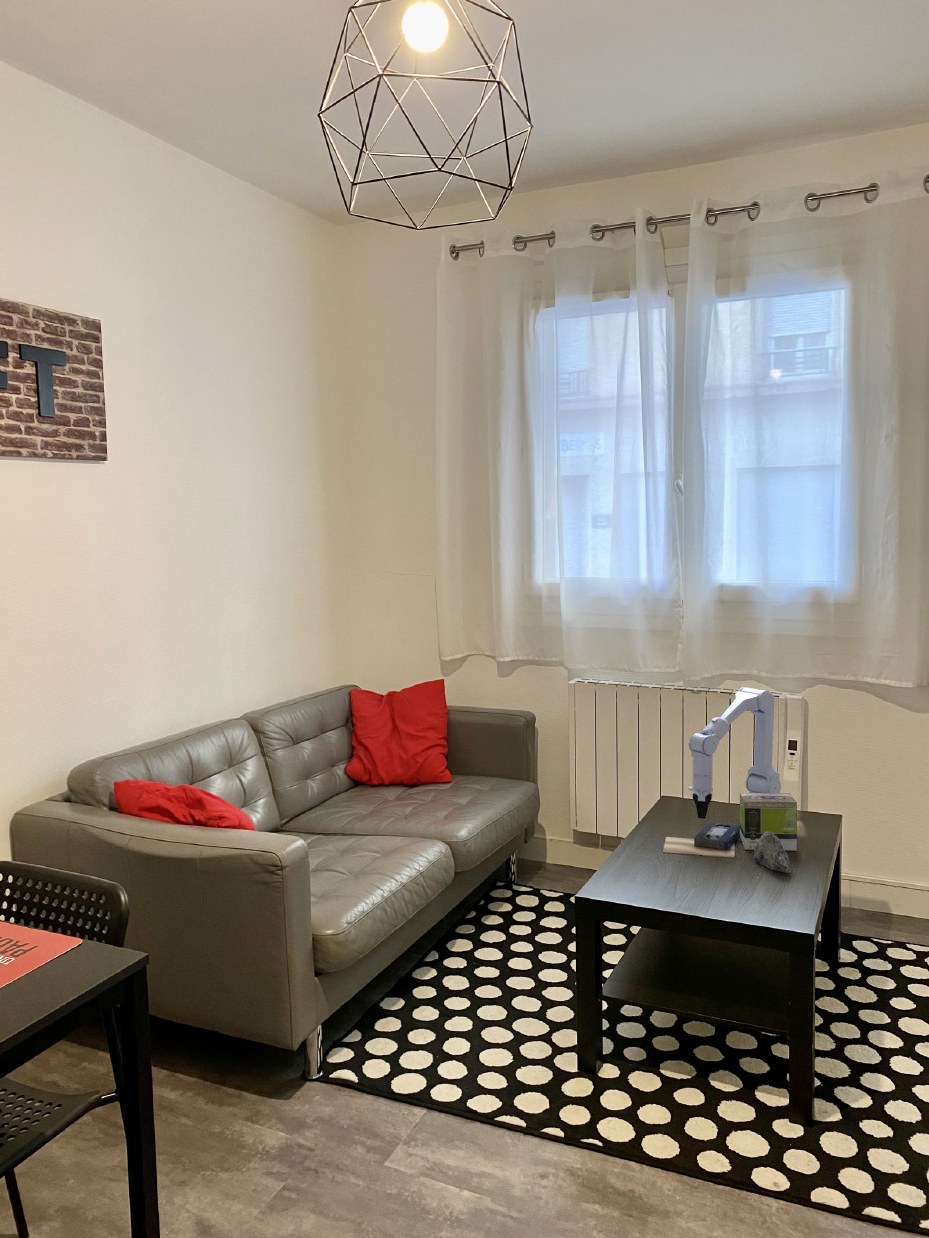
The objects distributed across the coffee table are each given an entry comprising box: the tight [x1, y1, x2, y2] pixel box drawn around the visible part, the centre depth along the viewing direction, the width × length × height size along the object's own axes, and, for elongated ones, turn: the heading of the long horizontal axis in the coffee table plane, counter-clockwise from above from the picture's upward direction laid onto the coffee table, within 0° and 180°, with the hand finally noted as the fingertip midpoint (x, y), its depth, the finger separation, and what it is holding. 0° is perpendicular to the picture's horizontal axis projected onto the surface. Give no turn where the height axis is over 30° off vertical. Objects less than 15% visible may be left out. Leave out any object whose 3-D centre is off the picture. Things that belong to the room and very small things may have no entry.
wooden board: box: [662, 836, 736, 859], centre depth 287 cm, size 14×20×1 cm
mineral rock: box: [753, 831, 792, 874], centre depth 269 cm, size 13×11×10 cm
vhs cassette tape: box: [693, 821, 740, 850], centre depth 293 cm, size 18×3×10 cm
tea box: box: [739, 792, 798, 852], centre depth 288 cm, size 15×10×15 cm, turn 82°
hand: (702, 817), depth 293 cm, fingers closed
